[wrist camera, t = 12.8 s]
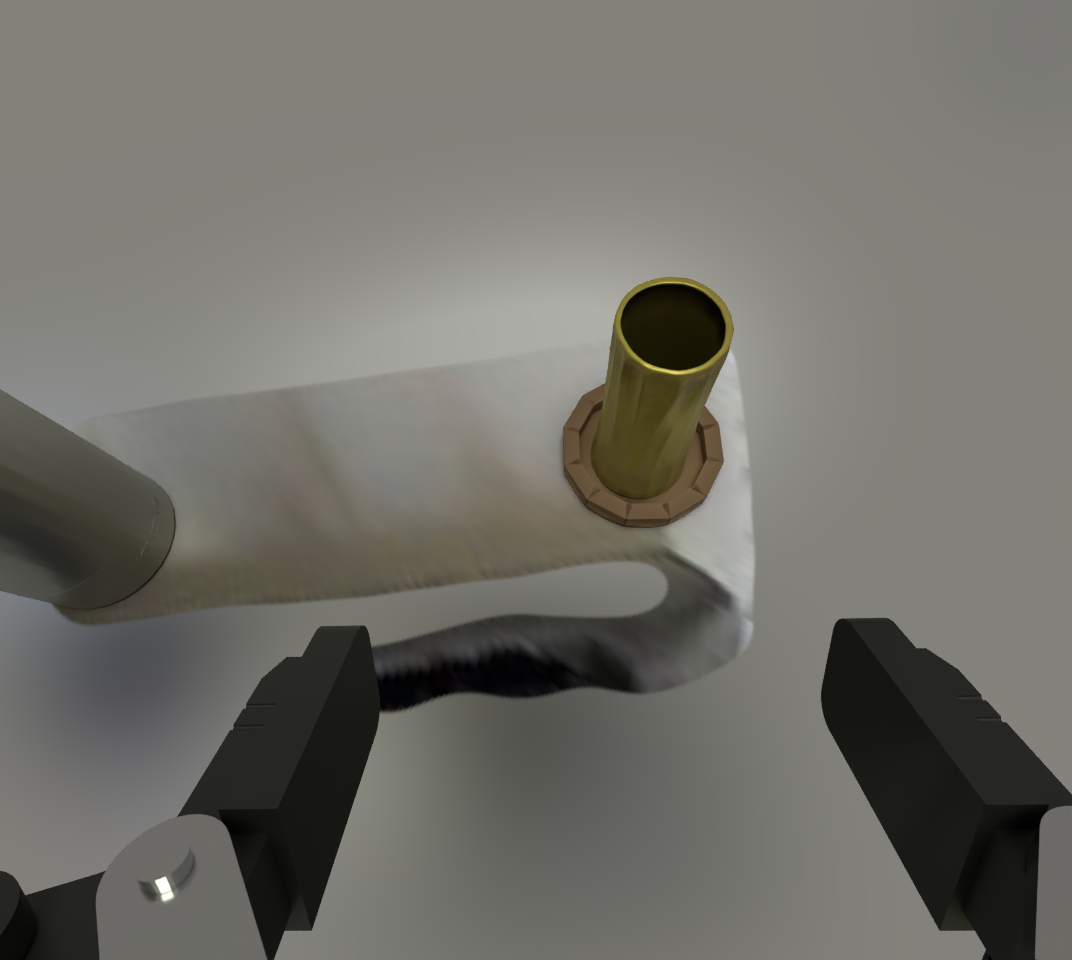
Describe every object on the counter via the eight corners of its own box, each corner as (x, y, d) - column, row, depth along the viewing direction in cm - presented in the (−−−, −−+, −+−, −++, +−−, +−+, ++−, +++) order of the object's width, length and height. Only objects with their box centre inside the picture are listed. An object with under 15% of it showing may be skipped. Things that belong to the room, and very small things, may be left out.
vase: (637, 518, 39) (676, 410, 25) (570, 453, 40) (575, 320, 27) (703, 458, 40) (774, 325, 27) (636, 397, 42) (671, 245, 28)
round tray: (565, 529, 39) (565, 520, 37) (561, 392, 43) (561, 378, 41) (723, 526, 39) (731, 517, 37) (706, 388, 42) (712, 374, 41)
